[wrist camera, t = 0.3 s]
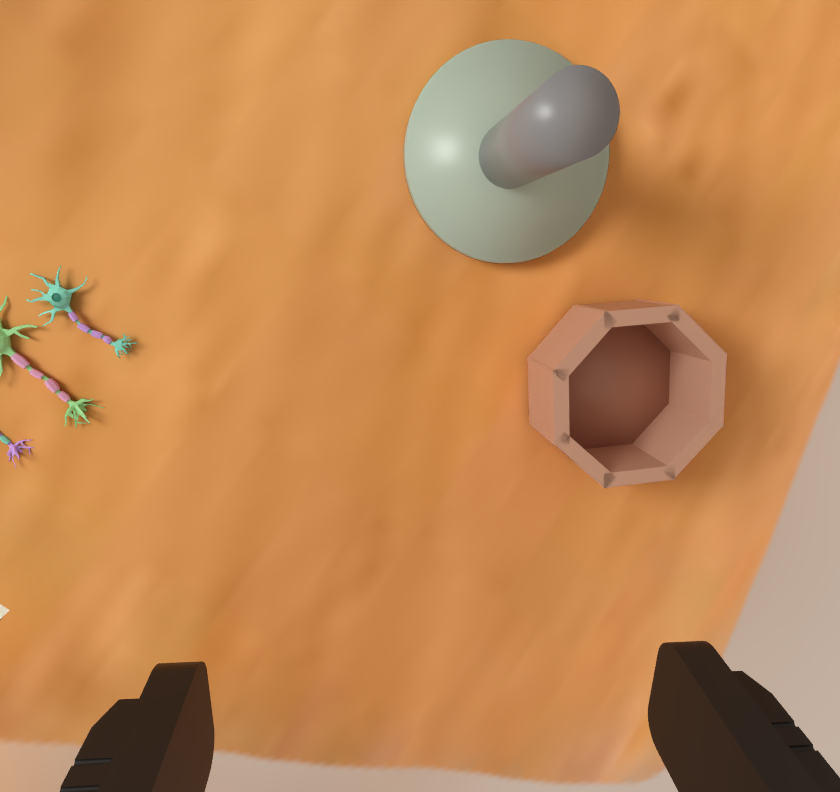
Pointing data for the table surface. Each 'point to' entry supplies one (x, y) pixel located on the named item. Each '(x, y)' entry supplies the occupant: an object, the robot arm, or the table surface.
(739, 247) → the table surface
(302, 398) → the table surface
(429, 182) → the peg on round base
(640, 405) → the bowl
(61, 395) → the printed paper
